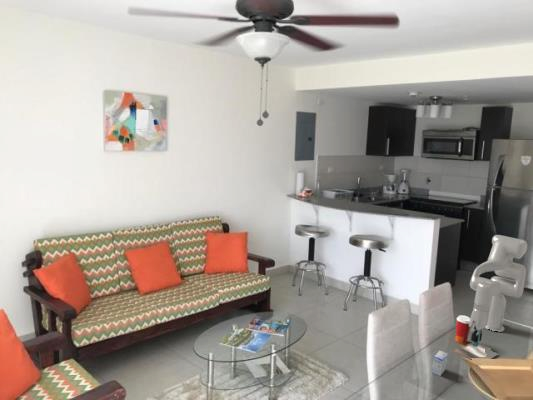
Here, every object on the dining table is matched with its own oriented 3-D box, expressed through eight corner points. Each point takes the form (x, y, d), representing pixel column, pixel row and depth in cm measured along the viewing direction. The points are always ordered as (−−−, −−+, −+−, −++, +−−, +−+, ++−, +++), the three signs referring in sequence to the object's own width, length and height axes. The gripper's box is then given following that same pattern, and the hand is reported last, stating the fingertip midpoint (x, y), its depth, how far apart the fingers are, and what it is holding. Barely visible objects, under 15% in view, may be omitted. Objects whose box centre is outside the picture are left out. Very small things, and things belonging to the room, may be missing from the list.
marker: (473, 343, 225) (477, 321, 223) (479, 346, 223) (483, 324, 220) (470, 344, 223) (474, 322, 221) (476, 347, 221) (480, 325, 219)
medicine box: (436, 366, 214) (439, 350, 213) (445, 369, 211) (448, 353, 210) (431, 372, 208) (433, 356, 206) (440, 376, 205) (443, 359, 204)
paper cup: (465, 339, 245) (469, 315, 242) (470, 345, 237) (474, 322, 234) (451, 337, 245) (455, 314, 243) (455, 344, 238) (459, 320, 235)
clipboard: (472, 343, 240) (473, 340, 240) (498, 355, 229) (498, 352, 229) (454, 351, 230) (455, 348, 229) (480, 364, 219) (481, 361, 218)
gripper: (482, 301, 227) (476, 334, 230) (466, 307, 217) (460, 341, 220) (497, 306, 221) (491, 340, 224) (481, 312, 211) (474, 347, 215)
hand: (475, 340), depth 222 cm, fingers closed on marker, 2 cm apart
